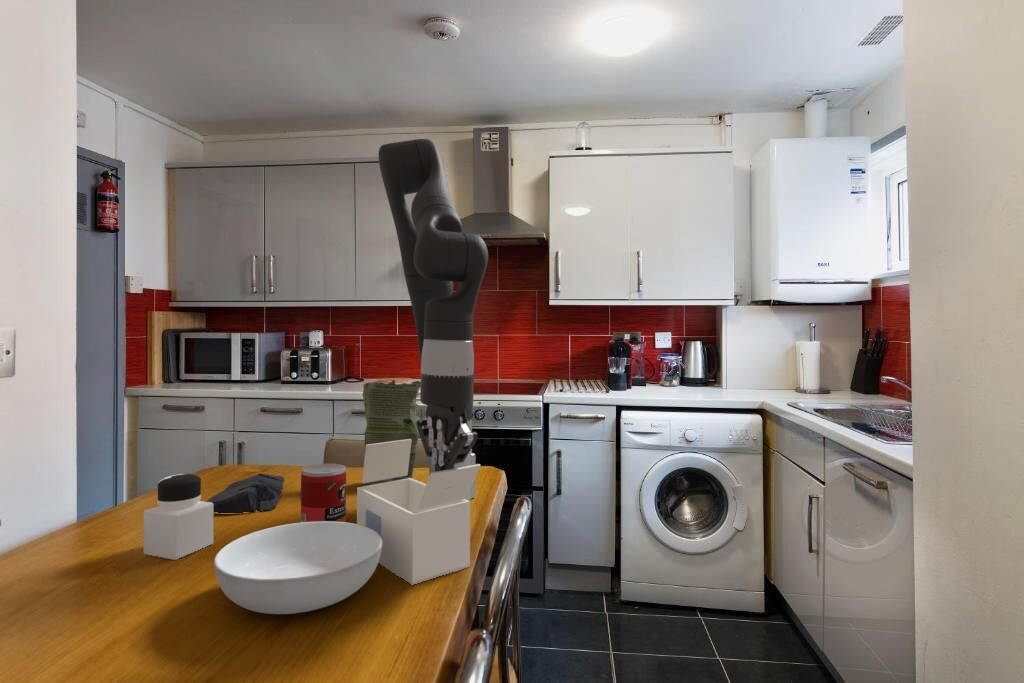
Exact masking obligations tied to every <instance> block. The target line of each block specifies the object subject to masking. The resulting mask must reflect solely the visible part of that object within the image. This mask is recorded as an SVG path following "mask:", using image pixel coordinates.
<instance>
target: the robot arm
mask: <svg viewBox="0 0 1024 683" xmlns="http://www.w3.org/2000/svg"><path fill="white" fill-rule="evenodd" d="M378 163H379V170H380V174H381V178H382V181H383V182H382V183H383V185H384V186H383V187H384V190H385V193H386V196H387V197H386V198H387V202H388V205H389V208H390V212H391V216H392V218H393V219H392V220H393V223H394V228H395V231H396V237H397V241H398V246H399V251H400V252H399V253H400V256H401V261H402V262H401V265H402V268H403V273H404V279H405V283H406V288H407V292H408V296H409V299H410V304H411V305H410V306H411V308H412V314H413V319H414V323H415V328H416V329H415V330H416V336H417V343H418V351H419V352H418V354H419V360H420V362H419V363H420V382H421V387H420V389H419V393H420V394H419V395H420V396H419V398H420V399H419V400H420V402H421V403H422V404H423V405H425V406H426V409H425V417H424V418H423V419H420V420H418V421H417V423H416V425H417V428H418V431H419V433H418V435H419V437H420V441H421V444H422V447H423V450H424V453H425V454H426V457H428V460H429V462H428V465H429V466H428V477H429V476H430V473H433V472H438V471H443V470H449V469H454V468H460V467H465V466H471V465H476V461H477V460H476V454H475V453H473V449H472V448H473V447H474V446H475V444H476V442H477V440H478V439H479V435H478V433H477V431H473V429H472V428H473V407H474V388H475V386H474V385H475V375H476V373H475V372H476V361H475V353H474V343H473V340H474V339H473V337H474V317H475V316H474V314H475V308H476V304H477V300H478V296H479V292H480V289H481V286H482V283H483V279H484V276H485V273H486V270H487V267H488V263H489V251H488V247H487V244H486V243H485V241H484V239H483V238H482V237H481V236H480V235H477V234H475V233H467V232H463V224H462V221H461V218H460V216H459V213H458V212H457V209H456V207H455V205H454V203H453V201H452V198H451V194H450V189H449V188H450V187H449V185H448V180H447V174H446V171H445V168H444V164H443V161H442V156H441V154H440V151H439V149H438V147H437V146H436V144H435V143H434V142H433V140H431V139H428V138H416V139H411V140H402V141H396V142H391V143H390V142H389V143H385V144H382V145H381V146H380V147H379V150H378ZM409 194H410V195H411V194H415V195H414V197H413V200H412V202H411V205H410V206H411V208H410V207H409V206H408V204H407V202H406V198H405V195H409ZM454 282H456V283H458V286H457V288H456V289H455V292H454ZM453 292H454V293H453ZM449 488H450V487H449ZM445 489H446V488H445ZM474 498H476V479H475V480H474V482H473V484H472V487H471V489H470V491H469V494H468V496H467V498H466V500H468V501H470V500H472V499H474Z"/></svg>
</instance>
